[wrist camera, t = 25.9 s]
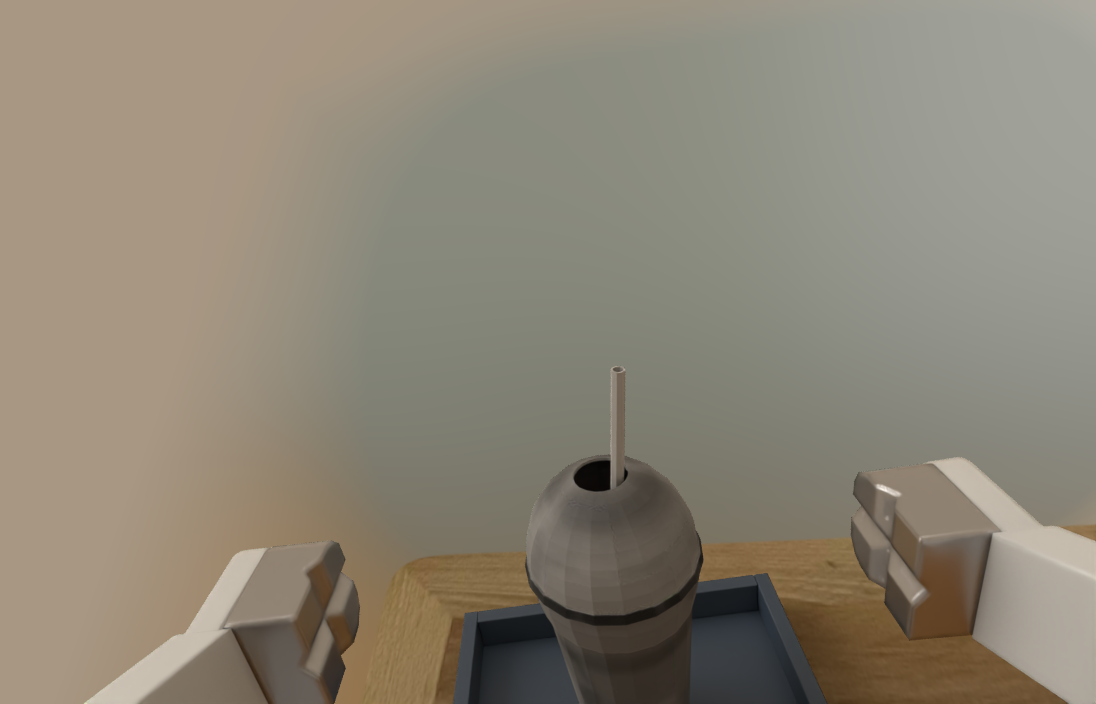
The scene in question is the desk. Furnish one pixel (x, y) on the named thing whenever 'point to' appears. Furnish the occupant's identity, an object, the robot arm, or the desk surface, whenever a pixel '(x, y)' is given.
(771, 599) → the tray
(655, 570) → the beverage cup
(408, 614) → the desk surface
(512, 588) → the desk surface
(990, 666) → the desk surface
